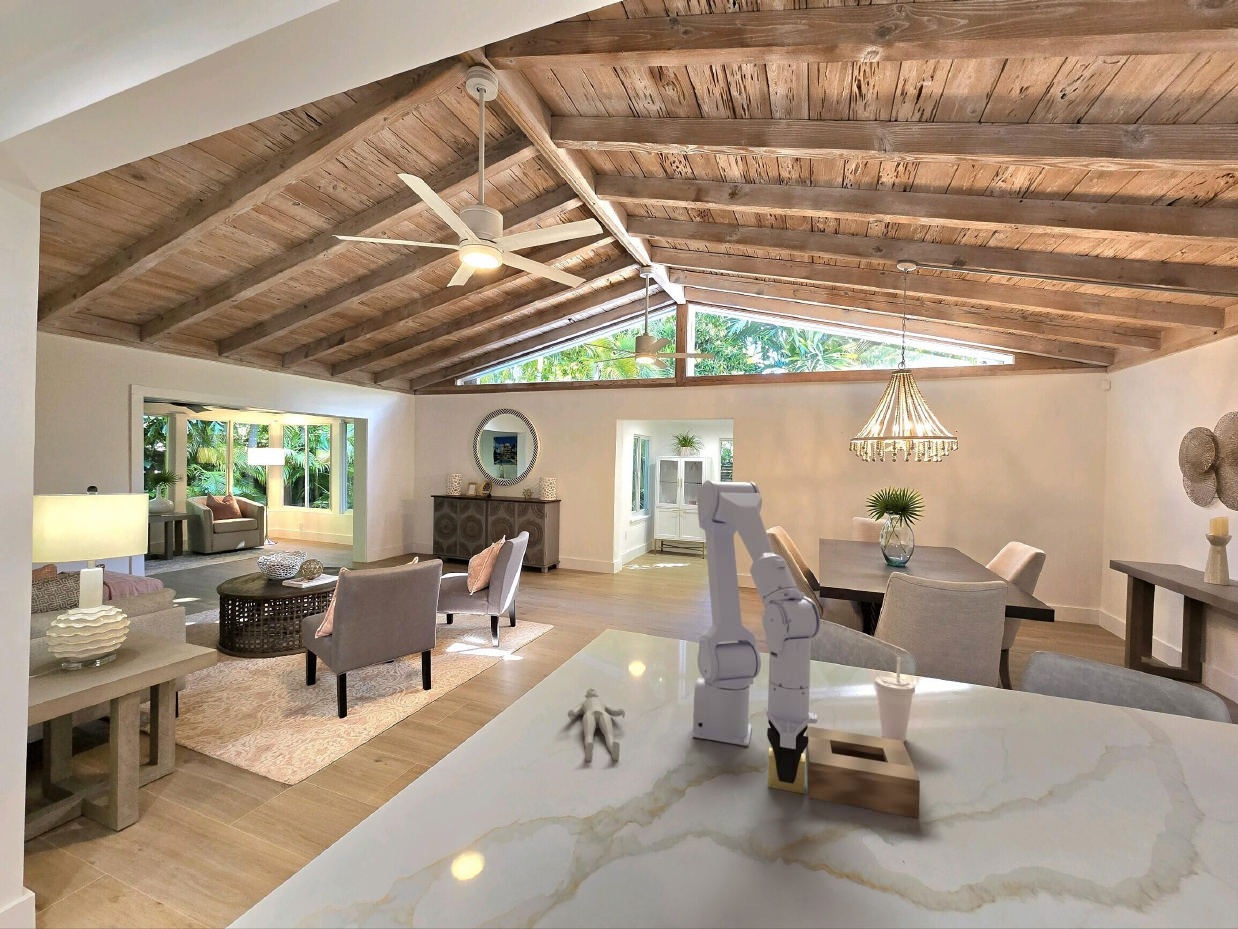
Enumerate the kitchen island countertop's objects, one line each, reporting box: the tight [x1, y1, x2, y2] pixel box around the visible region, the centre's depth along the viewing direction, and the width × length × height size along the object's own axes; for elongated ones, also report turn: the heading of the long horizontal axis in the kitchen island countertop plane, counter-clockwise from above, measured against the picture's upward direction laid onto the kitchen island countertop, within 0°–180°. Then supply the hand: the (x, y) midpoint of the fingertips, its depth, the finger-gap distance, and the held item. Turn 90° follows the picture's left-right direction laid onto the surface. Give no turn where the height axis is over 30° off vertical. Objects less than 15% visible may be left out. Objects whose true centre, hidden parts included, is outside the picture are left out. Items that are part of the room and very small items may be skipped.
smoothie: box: [874, 657, 916, 743], centre depth 98 cm, size 6×6×14 cm
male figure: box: [567, 687, 626, 762], centre depth 98 cm, size 10×4×22 cm
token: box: [767, 747, 806, 795], centre depth 81 cm, size 5×2×4 cm, turn 73°
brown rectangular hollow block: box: [805, 725, 921, 819], centre depth 82 cm, size 14×12×5 cm
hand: (786, 775), depth 81 cm, fingers closed on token, 2 cm apart
